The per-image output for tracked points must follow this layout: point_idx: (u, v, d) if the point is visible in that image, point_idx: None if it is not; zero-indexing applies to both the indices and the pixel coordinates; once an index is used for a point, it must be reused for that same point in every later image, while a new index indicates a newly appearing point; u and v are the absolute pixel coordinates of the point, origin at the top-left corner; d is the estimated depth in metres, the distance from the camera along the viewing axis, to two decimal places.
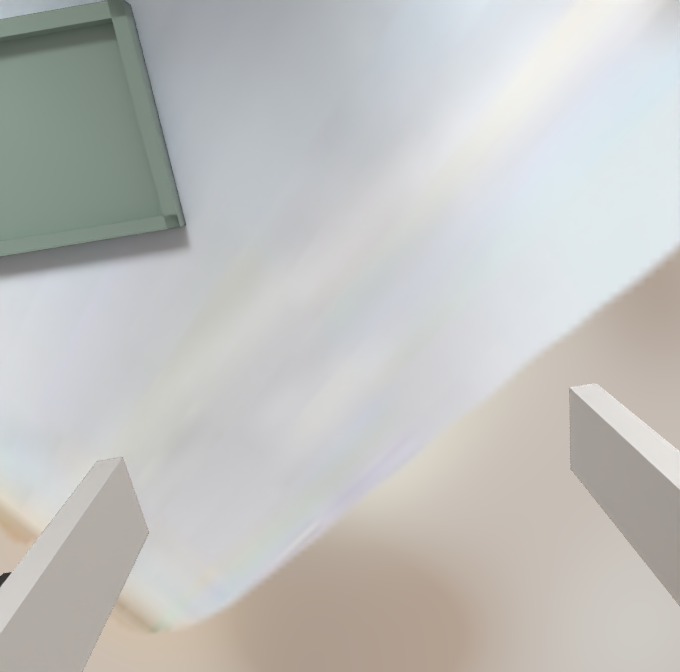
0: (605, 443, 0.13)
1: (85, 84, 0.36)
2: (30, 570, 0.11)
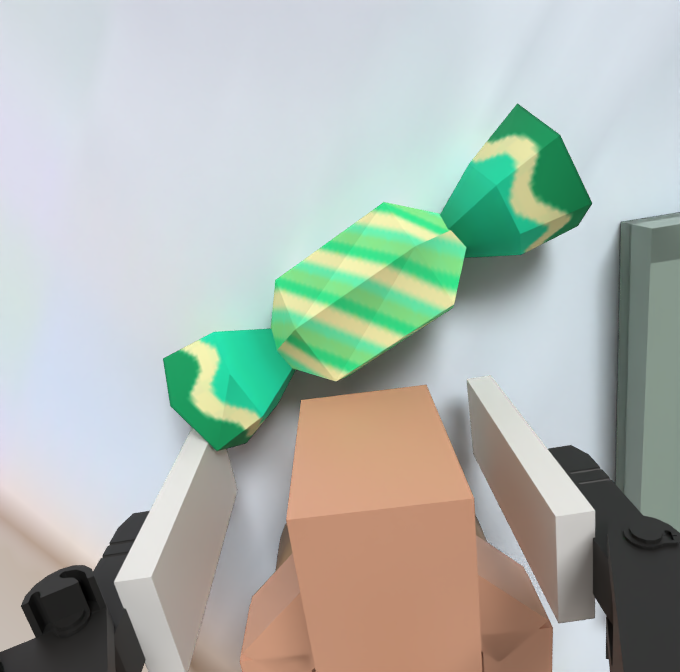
0: (486, 428, 0.14)
1: None
2: (168, 505, 0.12)
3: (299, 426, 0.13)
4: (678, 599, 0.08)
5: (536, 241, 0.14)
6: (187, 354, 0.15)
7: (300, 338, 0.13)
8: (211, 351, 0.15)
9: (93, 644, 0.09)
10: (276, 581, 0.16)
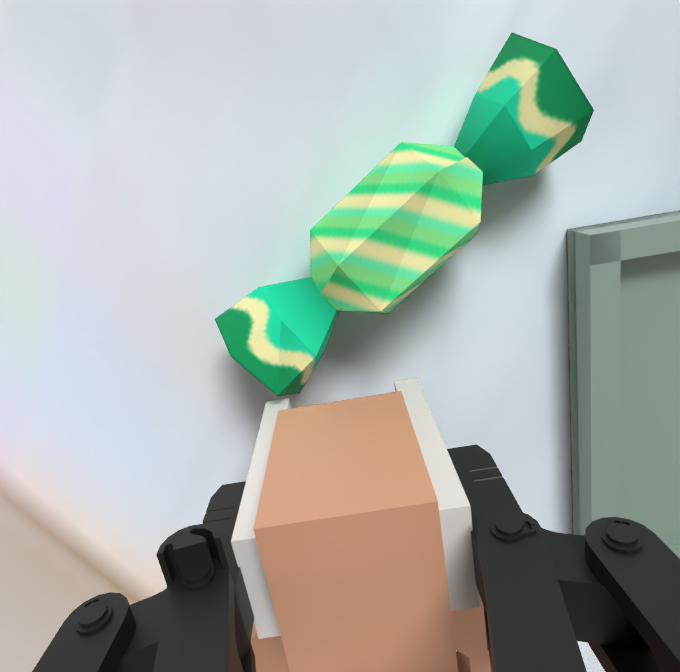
0: None
1: None
2: (263, 475, 0.13)
3: (274, 436, 0.13)
4: (538, 584, 0.08)
5: (546, 158, 0.15)
6: (237, 310, 0.16)
7: (343, 274, 0.15)
8: (260, 304, 0.16)
9: (216, 602, 0.09)
10: None
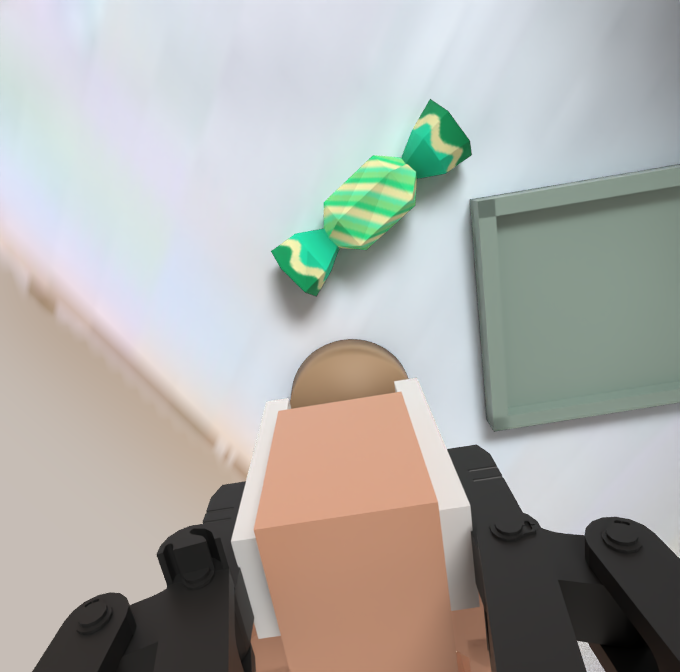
0: None
1: None
2: (263, 475, 0.13)
3: (274, 437, 0.13)
4: (538, 584, 0.08)
5: (450, 164, 0.28)
6: (283, 246, 0.29)
7: (340, 225, 0.28)
8: (296, 242, 0.29)
9: (216, 602, 0.09)
10: None
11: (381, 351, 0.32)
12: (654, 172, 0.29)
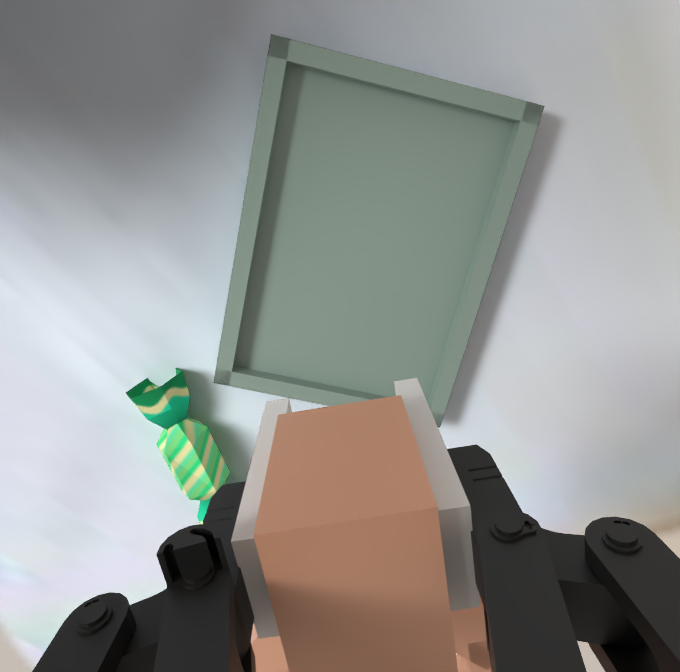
0: None
1: (335, 143, 0.29)
2: (263, 475, 0.13)
3: (274, 441, 0.13)
4: (538, 585, 0.08)
5: (181, 395, 0.32)
6: None
7: (194, 498, 0.33)
8: (202, 522, 0.35)
9: (216, 602, 0.09)
10: None
11: None
12: (240, 225, 0.29)
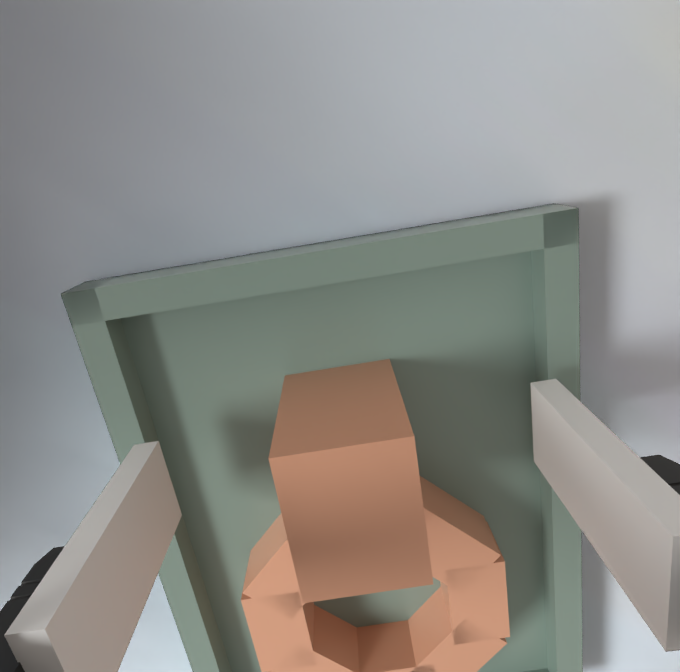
0: (559, 435, 0.13)
1: (247, 389, 0.17)
2: (83, 542, 0.11)
3: (282, 394, 0.15)
4: None
5: None
6: None
7: None
8: None
9: None
10: (270, 533, 0.18)
11: None
12: None
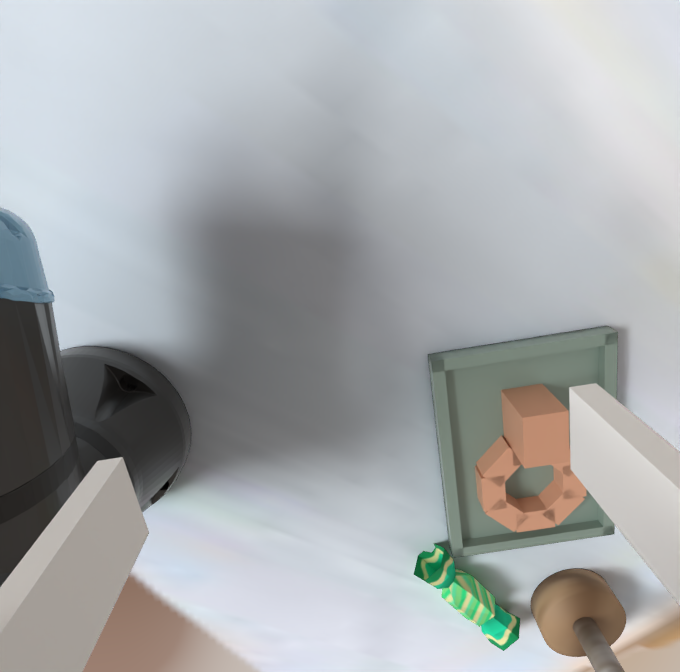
0: (605, 443, 0.13)
1: (485, 395, 0.43)
2: (30, 570, 0.11)
3: (507, 397, 0.42)
4: None
5: (450, 563, 0.47)
6: (489, 639, 0.50)
7: (482, 624, 0.48)
8: (487, 634, 0.50)
9: None
10: (488, 454, 0.45)
11: (542, 595, 0.50)
12: (443, 465, 0.44)
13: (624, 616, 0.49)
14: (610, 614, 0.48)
